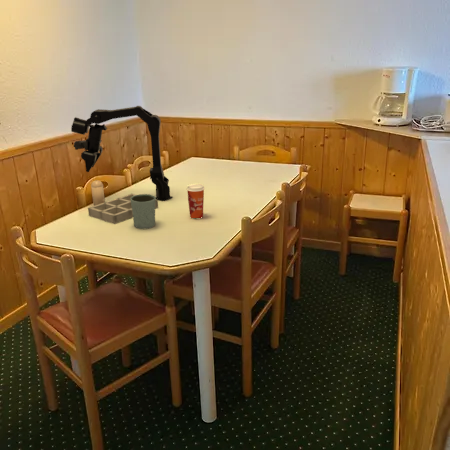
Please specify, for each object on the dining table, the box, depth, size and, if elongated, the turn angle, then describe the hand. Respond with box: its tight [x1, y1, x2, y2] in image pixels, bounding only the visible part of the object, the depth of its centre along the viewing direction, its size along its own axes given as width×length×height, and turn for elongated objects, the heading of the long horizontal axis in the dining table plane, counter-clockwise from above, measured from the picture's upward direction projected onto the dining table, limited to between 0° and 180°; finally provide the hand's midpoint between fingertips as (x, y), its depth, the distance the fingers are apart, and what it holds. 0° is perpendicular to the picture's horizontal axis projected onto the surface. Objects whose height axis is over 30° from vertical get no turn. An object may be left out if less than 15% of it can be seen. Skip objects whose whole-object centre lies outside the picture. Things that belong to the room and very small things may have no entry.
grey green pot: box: [130, 193, 157, 230], centre depth 180 cm, size 10×10×12 cm
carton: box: [87, 193, 159, 225], centre depth 197 cm, size 17×25×4 cm
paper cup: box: [186, 183, 206, 219], centre depth 188 cm, size 8×8×14 cm
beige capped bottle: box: [90, 179, 106, 206], centre depth 203 cm, size 5×5×12 cm
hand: (89, 169), depth 208 cm, fingers open, 9 cm apart
